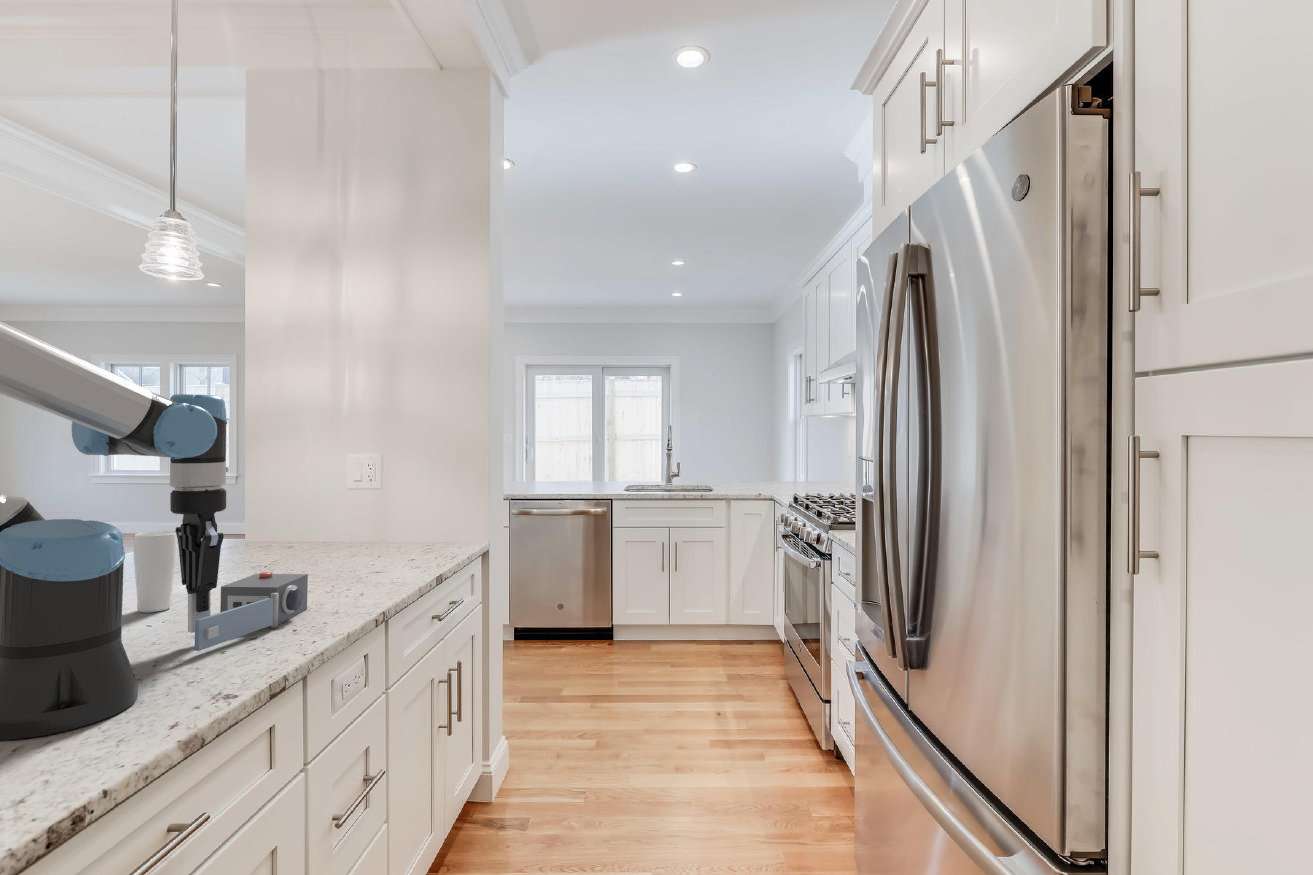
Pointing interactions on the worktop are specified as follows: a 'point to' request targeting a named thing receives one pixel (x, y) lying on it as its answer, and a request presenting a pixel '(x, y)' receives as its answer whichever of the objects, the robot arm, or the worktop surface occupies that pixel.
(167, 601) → the drinking glass
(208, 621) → the side door
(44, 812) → the worktop surface
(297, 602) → the camera box
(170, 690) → the worktop surface
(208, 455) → the robot arm
